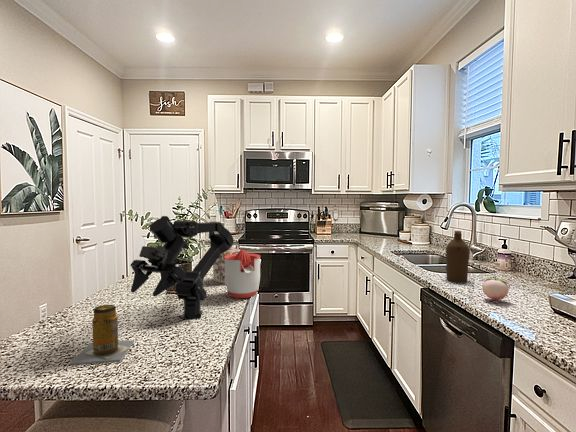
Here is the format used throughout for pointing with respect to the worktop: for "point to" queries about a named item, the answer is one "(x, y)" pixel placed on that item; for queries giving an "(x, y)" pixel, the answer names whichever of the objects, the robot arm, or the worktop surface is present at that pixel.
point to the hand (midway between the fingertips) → (142, 293)
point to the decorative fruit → (495, 288)
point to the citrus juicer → (242, 274)
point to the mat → (88, 359)
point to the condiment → (105, 332)
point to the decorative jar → (222, 265)
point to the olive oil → (457, 259)
